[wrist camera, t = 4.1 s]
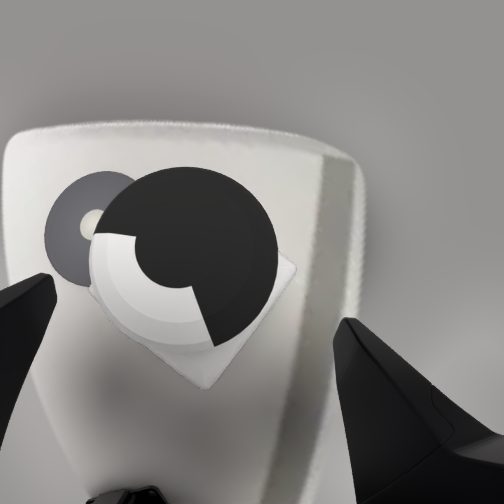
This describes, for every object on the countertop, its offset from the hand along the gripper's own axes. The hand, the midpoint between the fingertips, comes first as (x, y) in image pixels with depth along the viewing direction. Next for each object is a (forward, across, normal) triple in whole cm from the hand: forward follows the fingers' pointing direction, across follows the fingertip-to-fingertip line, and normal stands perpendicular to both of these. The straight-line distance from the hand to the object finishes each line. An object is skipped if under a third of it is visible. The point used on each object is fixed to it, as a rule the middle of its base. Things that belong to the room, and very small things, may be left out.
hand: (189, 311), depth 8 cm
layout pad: (+12, +9, +4) cm, 16 cm away
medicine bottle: (+10, 0, +7) cm, 12 cm away
